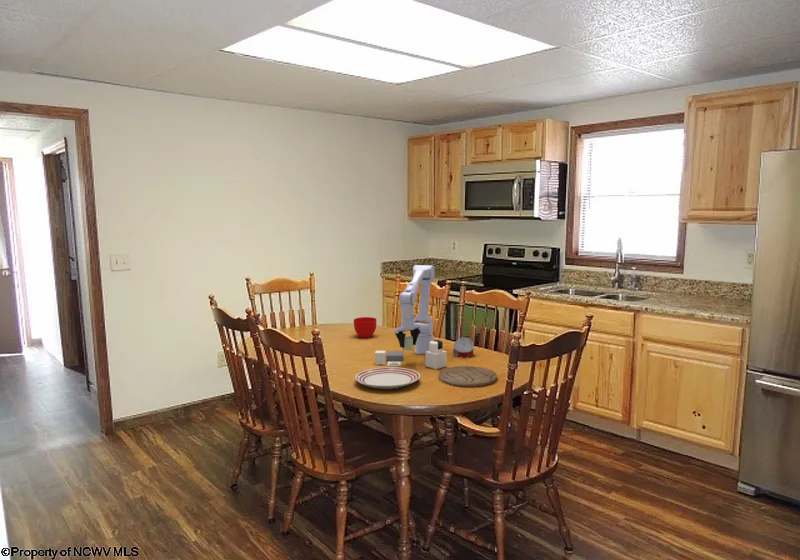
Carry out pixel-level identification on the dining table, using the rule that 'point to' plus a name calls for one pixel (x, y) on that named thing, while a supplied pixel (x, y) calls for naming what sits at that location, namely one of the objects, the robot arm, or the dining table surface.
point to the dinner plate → (387, 377)
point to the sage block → (408, 343)
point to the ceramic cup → (365, 326)
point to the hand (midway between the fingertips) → (407, 346)
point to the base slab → (394, 356)
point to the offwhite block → (380, 357)
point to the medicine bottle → (436, 355)
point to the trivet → (467, 376)
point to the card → (394, 363)
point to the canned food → (463, 347)
